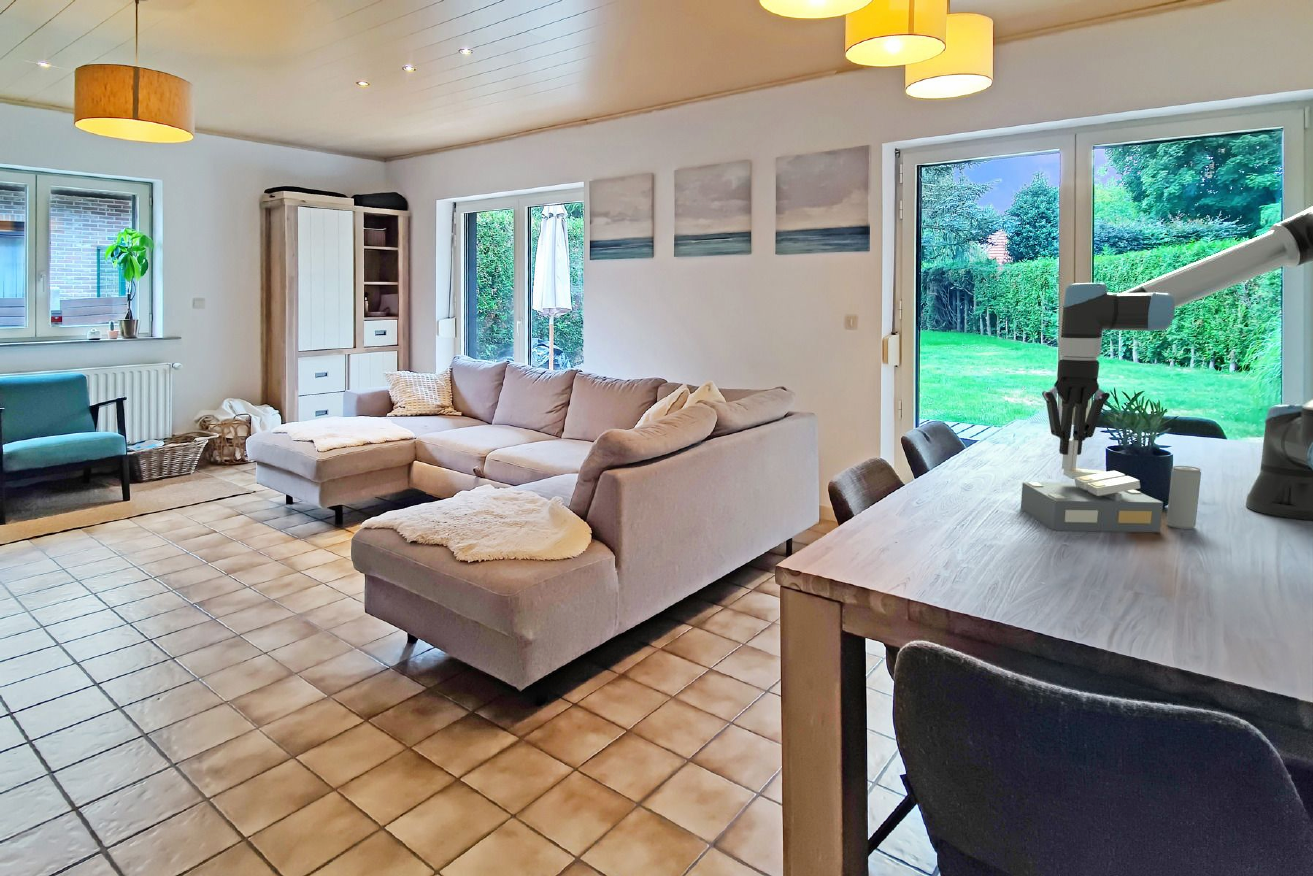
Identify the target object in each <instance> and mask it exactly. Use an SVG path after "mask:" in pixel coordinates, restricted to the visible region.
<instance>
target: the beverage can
mask: <svg viewBox="0 0 1313 876" xmlns="http://www.w3.org/2000/svg"><path fill="white" fill-rule="evenodd" d="M1201 469H1202V468H1199V467H1195V466H1189V465H1173V466H1172V469H1171V474H1170V475H1171V476H1170V484H1169V485H1170V486H1169V494H1168V505H1167V513H1166V524H1167V526H1169V527H1170V528H1174V529H1178V530H1179V529H1180V530H1192V529H1194V528H1195V527H1196V524H1197V514H1198V505H1199V497H1200V489H1201V487H1200V486H1201V479H1202V478H1201V477H1202V470H1201Z"/></svg>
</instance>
